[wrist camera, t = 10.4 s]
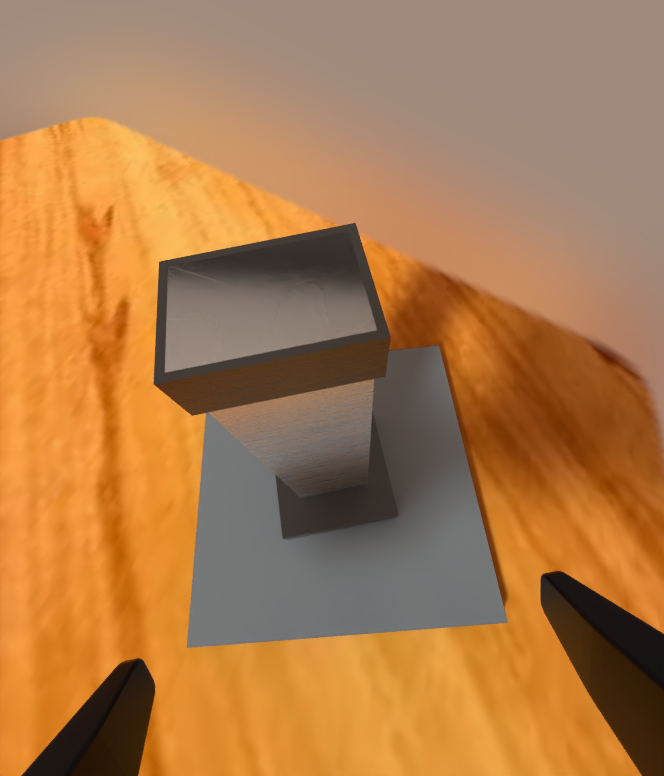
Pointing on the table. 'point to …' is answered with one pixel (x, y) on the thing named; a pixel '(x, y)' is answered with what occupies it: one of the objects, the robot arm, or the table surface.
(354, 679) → the table surface
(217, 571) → the plate
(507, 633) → the table surface
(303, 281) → the tray topped pillar
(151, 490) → the table surface
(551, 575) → the robot arm
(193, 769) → the table surface
